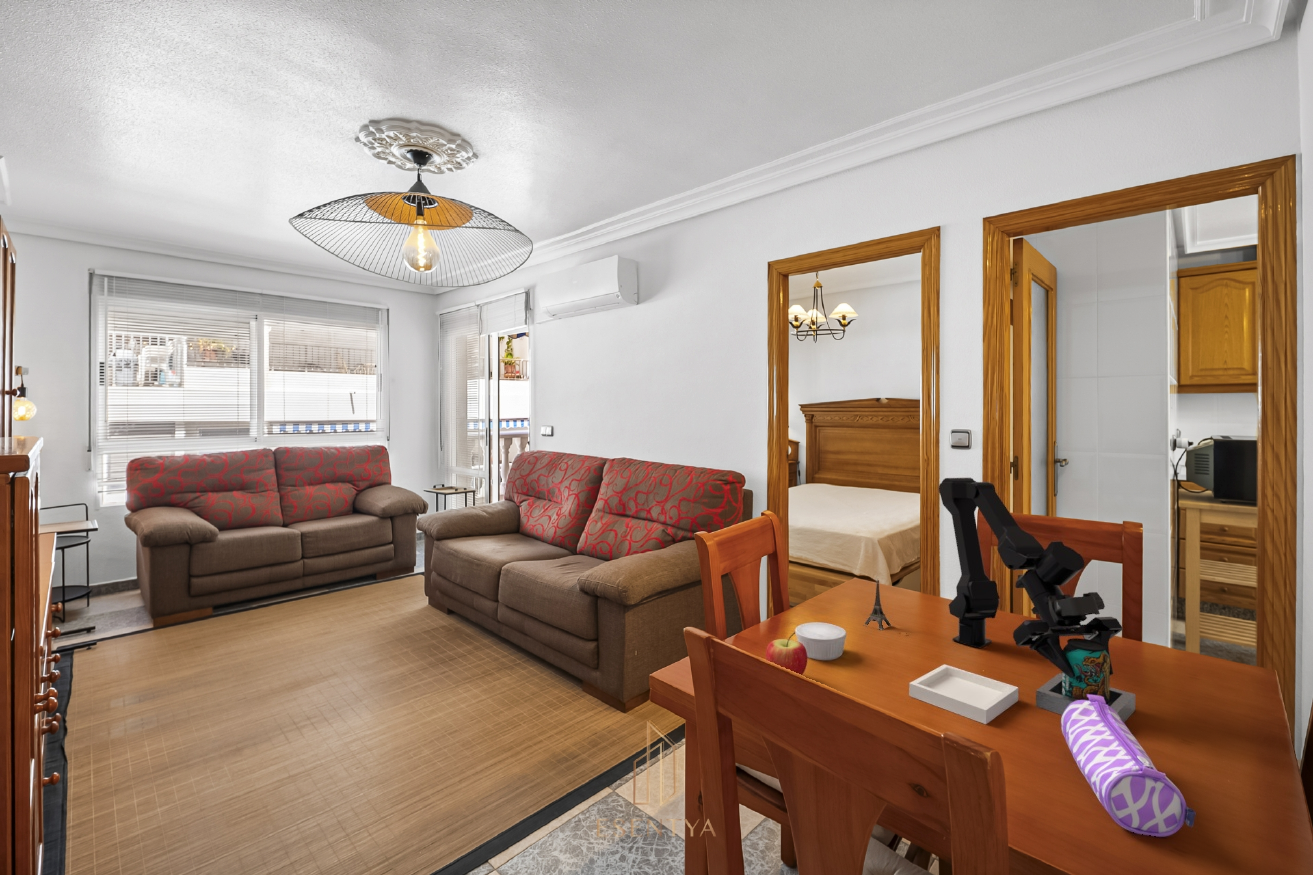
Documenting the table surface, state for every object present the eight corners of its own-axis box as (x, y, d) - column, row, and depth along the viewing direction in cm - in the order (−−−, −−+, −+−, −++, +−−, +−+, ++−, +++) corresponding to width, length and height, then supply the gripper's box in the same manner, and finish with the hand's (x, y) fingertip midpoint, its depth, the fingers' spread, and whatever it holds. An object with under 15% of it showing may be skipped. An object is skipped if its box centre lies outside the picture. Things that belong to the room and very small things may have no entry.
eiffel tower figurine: (910, 638, 148) (910, 584, 148) (868, 637, 149) (868, 584, 148) (890, 618, 163) (890, 569, 163) (851, 617, 164) (852, 568, 163)
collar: (1059, 687, 119) (1059, 672, 119) (1135, 710, 110) (1135, 694, 110) (1035, 706, 112) (1036, 690, 112) (1115, 732, 102) (1115, 714, 102)
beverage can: (1103, 721, 106) (1104, 654, 106) (1057, 707, 111) (1057, 643, 111) (1113, 709, 111) (1114, 644, 110) (1068, 695, 116) (1069, 634, 115)
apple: (799, 691, 119) (799, 640, 118) (759, 681, 123) (759, 633, 123) (813, 675, 126) (813, 628, 125) (774, 667, 130) (774, 621, 130)
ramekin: (791, 658, 135) (791, 635, 135) (799, 641, 145) (799, 619, 145) (844, 665, 131) (844, 641, 131) (848, 647, 141) (848, 625, 141)
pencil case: (1197, 852, 74) (1198, 776, 74) (1108, 837, 77) (1109, 764, 77) (1119, 756, 96) (1120, 697, 95) (1052, 746, 98) (1052, 689, 98)
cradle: (944, 676, 125) (944, 664, 125) (1018, 700, 114) (1018, 687, 114) (909, 695, 116) (909, 683, 116) (985, 724, 105) (985, 710, 105)
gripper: (1024, 578, 113) (1069, 659, 102) (1115, 574, 115) (1169, 654, 104) (995, 606, 121) (1034, 685, 111) (1081, 603, 123) (1128, 680, 112)
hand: (1091, 675), depth 109 cm, fingers closed on beverage can, 7 cm apart
